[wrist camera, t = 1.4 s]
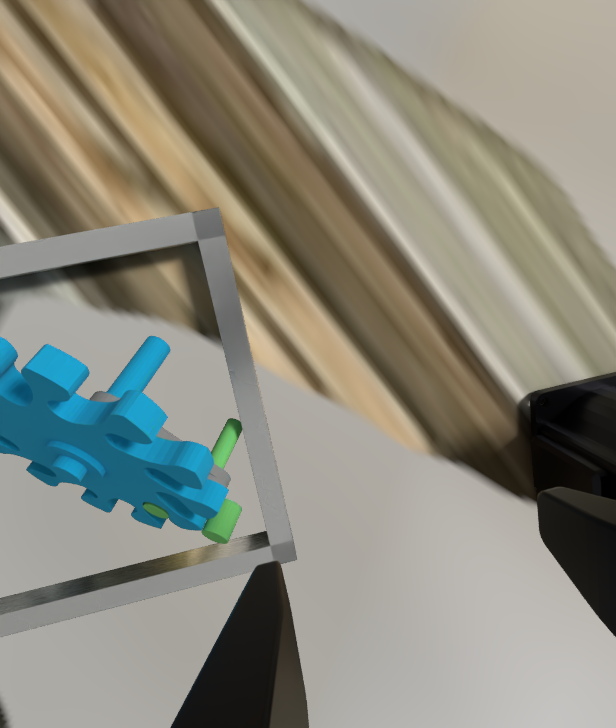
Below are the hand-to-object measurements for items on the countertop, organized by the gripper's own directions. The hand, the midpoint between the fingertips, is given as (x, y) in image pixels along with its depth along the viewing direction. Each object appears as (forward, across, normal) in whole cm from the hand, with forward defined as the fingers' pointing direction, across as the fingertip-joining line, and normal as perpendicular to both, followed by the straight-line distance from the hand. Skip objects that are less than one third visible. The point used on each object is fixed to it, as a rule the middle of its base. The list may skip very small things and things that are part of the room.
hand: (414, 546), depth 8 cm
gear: (+12, +8, 0) cm, 15 cm away
